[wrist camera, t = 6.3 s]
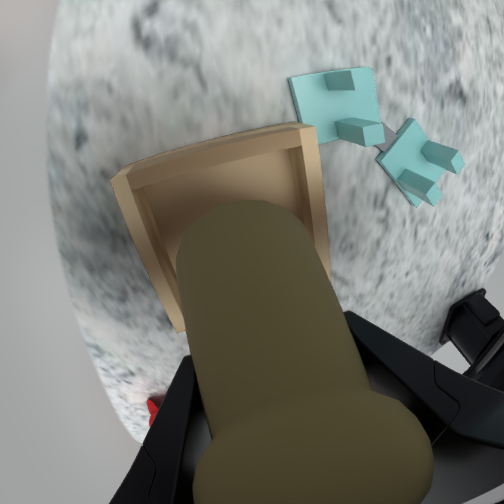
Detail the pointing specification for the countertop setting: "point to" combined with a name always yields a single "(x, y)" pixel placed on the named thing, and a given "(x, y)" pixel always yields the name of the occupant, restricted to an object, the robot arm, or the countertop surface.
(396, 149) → the clip
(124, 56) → the countertop surface
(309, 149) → the shallow tan tray
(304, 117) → the clip
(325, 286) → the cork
